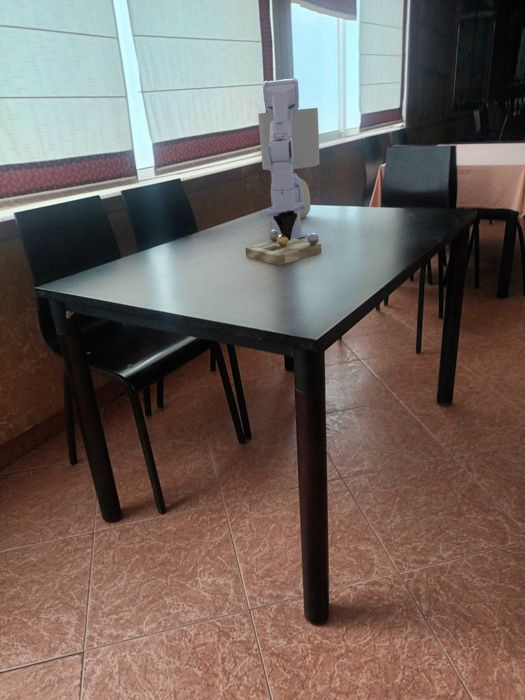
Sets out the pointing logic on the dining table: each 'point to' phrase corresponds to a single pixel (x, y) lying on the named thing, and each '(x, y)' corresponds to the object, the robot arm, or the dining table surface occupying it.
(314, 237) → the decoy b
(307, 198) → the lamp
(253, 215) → the dining table surface
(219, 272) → the dining table surface
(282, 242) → the ball
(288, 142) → the robot arm
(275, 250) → the plate
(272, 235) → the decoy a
